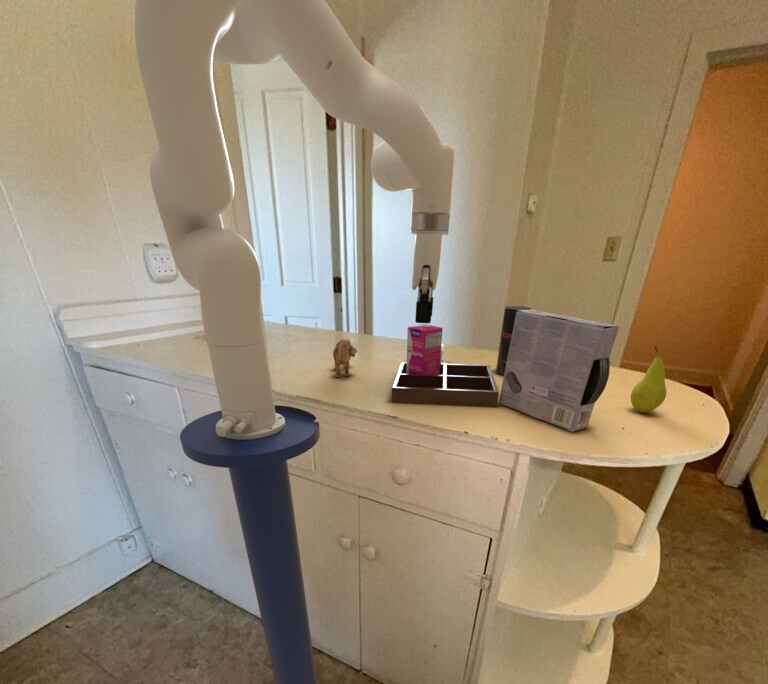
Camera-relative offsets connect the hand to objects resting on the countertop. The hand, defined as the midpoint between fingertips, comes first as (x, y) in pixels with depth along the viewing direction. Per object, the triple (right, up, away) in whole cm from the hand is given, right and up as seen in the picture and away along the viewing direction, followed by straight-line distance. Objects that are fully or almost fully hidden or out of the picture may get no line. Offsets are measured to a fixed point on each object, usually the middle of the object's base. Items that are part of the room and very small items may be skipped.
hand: (424, 319), depth 93 cm
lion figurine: (-19, -7, +14) cm, 25 cm away
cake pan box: (+22, -24, -12) cm, 34 cm away
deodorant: (+23, -7, +15) cm, 28 cm away
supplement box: (0, -11, +7) cm, 13 cm away
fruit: (+42, -23, -9) cm, 49 cm away
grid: (+5, -14, +3) cm, 16 cm away
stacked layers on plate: (+3, -4, +20) cm, 21 cm away
